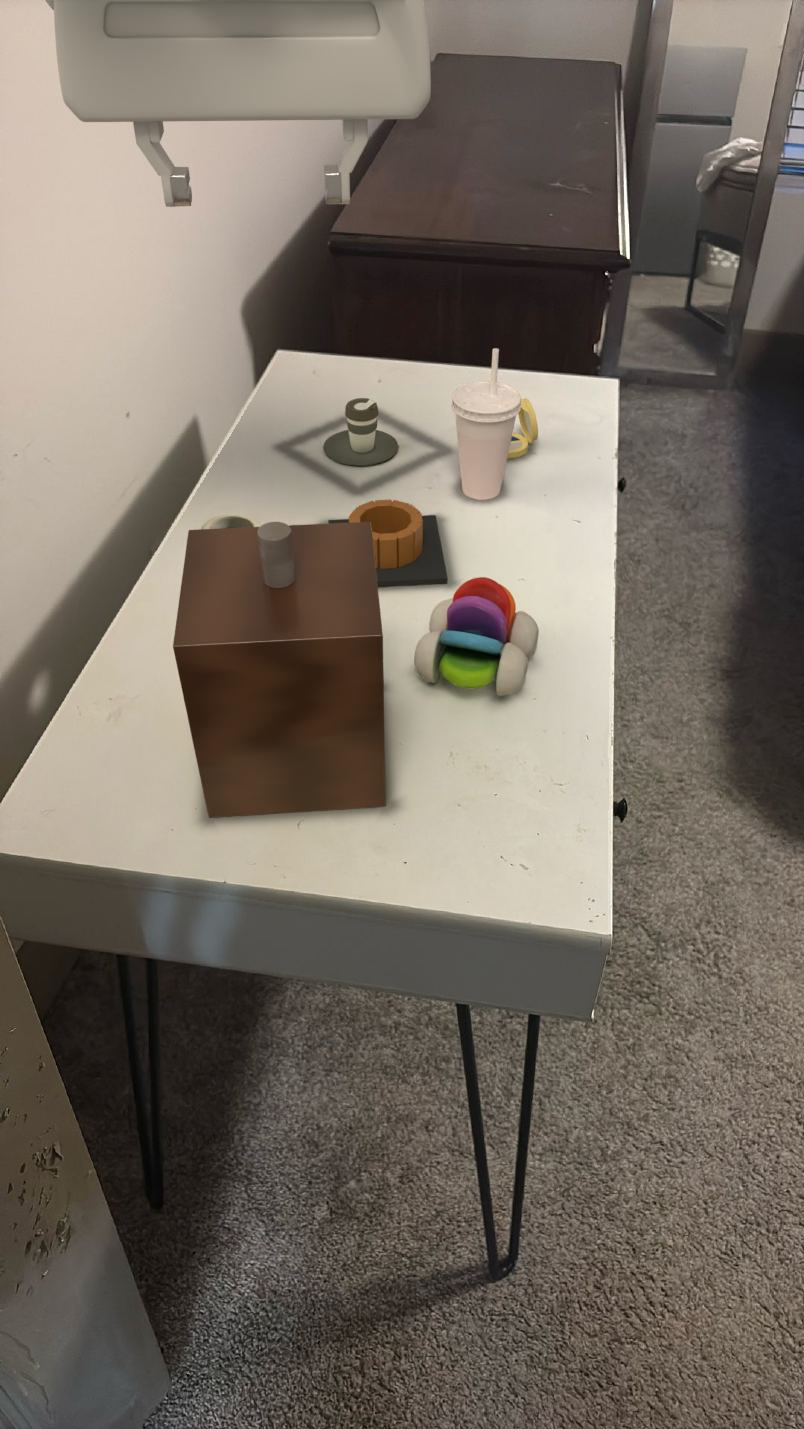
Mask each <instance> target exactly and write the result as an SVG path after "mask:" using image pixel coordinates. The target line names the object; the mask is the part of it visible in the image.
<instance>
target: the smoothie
mask: <svg viewBox="0 0 804 1429" xmlns="http://www.w3.org/2000/svg"><path fill="white" fill-rule="evenodd" d="M499 354H500V349H499V348H497V347H495V348H492V352H491V369H490V370H491V372H490V381H487V380H485V381H484V380H483V381H481V380H480V381H473V382H468V383H465V384H463V385H460V386H459V387H458V388H456V389H455V390H454V391H453V392H452V396H451V404H450V406H451V410H452V411H453V412H454V413H455V414H454V415H455V427H456V436H457V446H458V457H459V468H460V479H461V489H462V490H461V491H462V493H463V494H464V495H465V496H466V497H468V498H471V499H472V500H478V501H486V500H487V501H488V500H491V499H494V498H497V497H498V496H499V495H500V493H501V490H502V484H503V480H504V476H505V471H506V466H507V461H508V458H507V457H508V452H509V447H510V443H511V438H512V433H514V429H515V424H516V419H517V415H518V413H519V412H520V410H521V399H522V396H521V393H520V392H519V391H518V389H516V388H514V387H512V386H510V385H508V384H506V383H502V382H498V369H499Z"/></svg>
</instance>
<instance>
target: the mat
mask: <svg viewBox="0 0 804 1429" xmlns="http://www.w3.org/2000/svg"><path fill="white" fill-rule="evenodd" d="M422 520H423V550H422V553H421V554H420V555H419V556H418V558H417V559H416V560H415V561H414V560H413V562H412V563H409V564H407V565H404V566H402V567H398V566H397V568H389V569H380V566H379V567H378V568H376V574H377V584H378V588H380V587H381V588H382V587H402V586H423V585H425V586H426V585H441V584H442V585H443V584H444V585H445V584H448V573H447V568H446V563H445V557H444V552H443V546H442V541H441V537H440V531H439V525H438V520H437V516H436V515H435V514H431V515H430V514H428V515H422ZM329 523H349V518H343V519H341V518H340V519H328V523H327V524H329Z"/></svg>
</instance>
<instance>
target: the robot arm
mask: <svg viewBox="0 0 804 1429" xmlns="http://www.w3.org/2000/svg"><path fill="white" fill-rule="evenodd" d="M45 2H46V3H47V4H48V6H49V7H50V8H51V9H52V11H53V19H54V38H55V40H54V41H55V50H56V61H57V69H58V78H59V84H60V90H61V96H62V100H63V103H64V104H65V106H66V107H67V108H68V109H69V110H70V111H71V112H72V114H73V115H75V117H76V118H77V119H78V120H79V121H80V122H83V123H132V125H133V131H134V138H135V143H136V146H137V147H138V148H139V149H140V152H142V154H143V155H144V157H145V158H146V160H147V161H148V163H149V164H150V166H151V167H152V168H153V169H154V171H155V172H156V175H158V176H160V180H161V187H162V193H163V198H164V199H163V200H164V204H165V207H166V208H175V207H178V208H179V207H192V202H193V192H192V186H191V185H190V180H191V176H190V175H191V174H190V169H189V166H175V165H174V162H172V160H171V158H170V156H169V155H168V154H167V152H166V151H165V149H164V148H163V146H162V144H161V143H160V142H161V141H162V138H163V136H164V133H165V128H164V123H165V122H242V121H243V122H249V121H250V122H251V121H254V122H255V121H261V122H263V121H338V120H340V121H341V127H342V128H341V129H342V137H343V140H344V141H346V145H345V147H344V148H343V151H342V153H341V155H340V158H339V159H338V162H337V164H325V165H323V173H324V174H323V175H324V176H323V177H324V199H325V205H350V204H351V190H350V189H351V185H350V184H351V183H350V182H351V181H350V179H351V178H350V176H351V175H350V174H352V173H353V171H354V169H355V167H356V165H357V163H358V161H359V159H360V157H361V155H362V154H363V152H364V150H365V148H366V146H367V144H368V143H369V142H368V140H369V136H368V134H369V133H368V132H369V131H368V128H369V126H368V125H369V124H368V123H369V122H368V120H414V119H417V118H418V117H419V116H420V115H422V112H423V111H425V109H426V107H427V106H428V105H429V102H430V100H431V92H432V91H431V88H432V81H431V80H432V78H431V77H432V76H431V71H432V70H431V53H430V40H429V29H428V20H427V13H426V7H425V0H45Z"/></svg>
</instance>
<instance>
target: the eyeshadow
mask: <svg viewBox="0 0 804 1429" xmlns="http://www.w3.org/2000/svg"><path fill="white" fill-rule="evenodd" d="M517 415H518V419H519V425H520V428H521V431H522V433H523V435H522V434H520V433H517V432H513V433H512V438H511V443H510V447H509V452H508V457H507V459H517V458H519V457H522V456H524V455H526V453H527V452H528V450H529V448H528V447H529V443H533V442H535V441H537V440H538V438H539V426H538V420H537V416H536V413H535V410H534V407H533V405H532V402H531V400H530V399H528V398H526V397H525V398H521V410H520V412H519V413H518V414H517Z"/></svg>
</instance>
